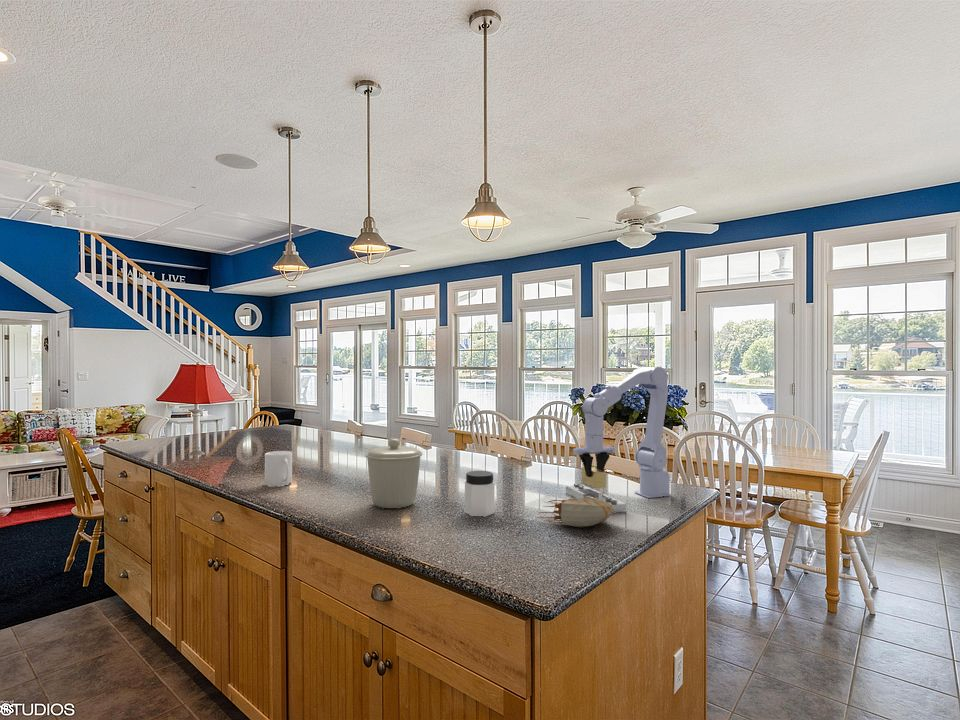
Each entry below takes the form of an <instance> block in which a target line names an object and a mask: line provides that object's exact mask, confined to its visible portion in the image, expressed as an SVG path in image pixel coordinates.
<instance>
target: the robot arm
mask: <svg viewBox="0 0 960 720" xmlns="http://www.w3.org/2000/svg"><path fill="white" fill-rule="evenodd" d="M668 381H669V374H668V373H667V371H666V369H665V368H663V367H662V366H638V367H637V368H635V369H634V370H632V372H631V373H630V374H629V375H628V376H626V377H625V378H624V379H622V381H620V382H618V383H617V384H616V385H612V384H611V385H605V386H604V389H602V390H601V391H600V392H596V393H594V396H593V397H587V398H585V399H584V401H583V404H582V405H581V410H582V412H583V413H584V418H585V423H584V424H585V426H584V427H585V428H584V429H585V431H584V432H585V443H584V444H585V446H582V447H576V448H575V447H574V448H573V449H572V455H574V456H579V458H580V460H581V462H582V465H583V467H584V468H585V472H586V476H588V477H591V474H592V467H593V460H594V456H592V455H595V461H596V468H597V469H599V470H602V471H605V466H606V464H607V462H608V460H609V459H610V454H615V453H616V447H615V446H612V445H611V446H604V415H606V414H607V412H608V409H609V408H610V407H612V406H613V405H615V404H617V403H618V402H619V401H621V399H622V394H625V393H626V392H627V391H630V390H631V389H633V388H635V387H636V386H638V385H640V386H641V387H643V388H644V389H645V390H646V391H647V392H648V393H649V394H650V399H649V404H648V405H649V407H648V413H647V421H646V429H645V434H644V439H643V440H642V441H640V442H639V444H638V448H637V450H636V452H635V455H634V460H635V462H636V463H637V465H638V468H639V490H635V491H634V494H637V495H639V496H642V497H645V498H647V499H651V498H652V499H653V498H661V497H662V498H663V496H664V497H671V496H672V494H670V493H671V492H670V488H671V487H670V485H671V484H670V483H671V482H670V481H671V480H670V474H669V472H668V470H667V469H666V468H665V467H666V466H667V463H668V457H667V448H666V447H665V445H664V444H663V443H662V439H663V431H664V423H665V417H666V410H667V403H668V397H669V396H668V395H669V389H668Z"/></svg>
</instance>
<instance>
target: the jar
mask: <svg viewBox="0 0 960 720" xmlns="http://www.w3.org/2000/svg"><path fill="white" fill-rule="evenodd" d="M465 475H466V476H465V477H466V478H465V479H466V481H464V513H465V514H467V515H468V514H469V515H468V516H470V517H473V516H483V518H484V517H485V518H486V517H488V516H489V517H490V516H491V515H493V514H495V481H494V474H493V472H492V471H487V470H471V471H467V472H466V473H465Z"/></svg>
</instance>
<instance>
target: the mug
mask: <svg viewBox="0 0 960 720" xmlns="http://www.w3.org/2000/svg"><path fill="white" fill-rule="evenodd" d="M292 481H293V451H289V450H274V451H269V452H266V453H264V485H265V486H266V485H270V486H277V485H285V484H289V483H291V482H292ZM292 483H293V482H292ZM292 483H291V484H292Z"/></svg>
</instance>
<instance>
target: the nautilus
mask: <svg viewBox="0 0 960 720" xmlns="http://www.w3.org/2000/svg"><path fill="white" fill-rule="evenodd" d="M542 502H543V503H545V501H544V500H542ZM557 502H558V503H557ZM546 503H547V504H549V503H550V504H554V505H544V507H548V508H553V511H538V513H539V514H540V513H541V514H552V515H553V516H544V517H543V516H538V518H541V519H545V522H547V521H548V522H551V523H552V524H550V525H551V526H552V525H553V524H555V525H557V524H560V525H563V526H564V525H565V526H572V527H575V528H587V527H592V526H596V525H597V524H601V523H602V522H605V521H606V520H608V519H609V518H610V517H611V515H612V514H614V513H613V512H614V510H613V508H612V507H611V505H610V504H609V503H607V502H605V501H602V499H601V500H599V499H596V498H593V499H592V498H590V497H587V496H586V497H585V498H574V497H569V498H568V499H562V500H561V499H557V500H556V499H552V498H550V500H549V501H546ZM555 509H558V510H555ZM555 514H556V515H555ZM557 514H558V515H557Z"/></svg>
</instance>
